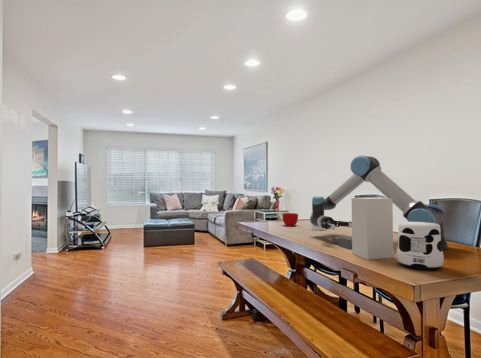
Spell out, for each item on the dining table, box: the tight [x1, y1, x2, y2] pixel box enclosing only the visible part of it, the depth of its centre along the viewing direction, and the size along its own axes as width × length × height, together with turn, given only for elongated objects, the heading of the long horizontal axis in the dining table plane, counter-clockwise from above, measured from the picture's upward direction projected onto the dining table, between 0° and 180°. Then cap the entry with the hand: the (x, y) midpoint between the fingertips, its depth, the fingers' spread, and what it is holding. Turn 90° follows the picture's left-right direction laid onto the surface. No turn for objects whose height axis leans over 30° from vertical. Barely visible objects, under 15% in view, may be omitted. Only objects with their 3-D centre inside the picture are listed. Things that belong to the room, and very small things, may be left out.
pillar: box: [351, 196, 394, 260], centre depth 152 cm, size 12×14×28 cm
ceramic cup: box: [281, 212, 299, 227], centre depth 260 cm, size 13×17×10 cm
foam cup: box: [310, 212, 323, 231], centre depth 236 cm, size 10×9×13 cm
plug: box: [331, 236, 352, 250], centre depth 175 cm, size 19×6×5 cm, turn 21°
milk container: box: [395, 221, 445, 270], centre depth 132 cm, size 17×17×18 cm
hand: (345, 226), depth 174 cm, fingers open, 13 cm apart
